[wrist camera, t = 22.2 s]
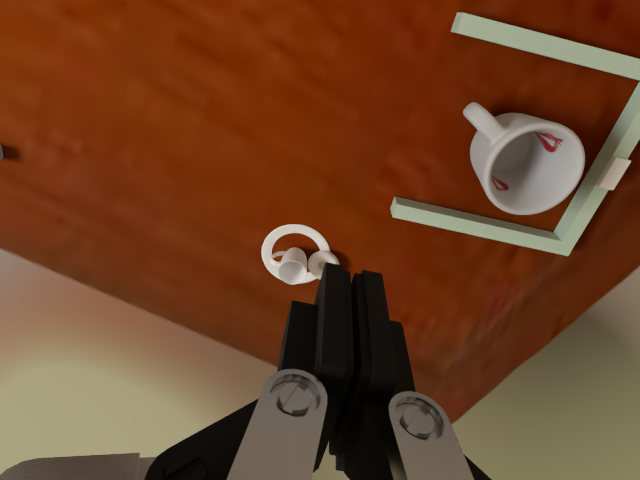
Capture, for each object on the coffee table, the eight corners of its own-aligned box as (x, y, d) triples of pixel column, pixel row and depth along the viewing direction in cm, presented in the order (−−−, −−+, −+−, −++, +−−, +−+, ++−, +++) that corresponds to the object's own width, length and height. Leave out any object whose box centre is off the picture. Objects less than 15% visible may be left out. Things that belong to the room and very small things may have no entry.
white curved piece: (349, 257, 48) (350, 276, 45) (303, 295, 51) (300, 317, 48) (293, 208, 46) (290, 225, 42) (248, 252, 49) (241, 271, 45)
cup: (423, 129, 40) (441, 154, 33) (489, 62, 37) (524, 74, 30) (493, 197, 44) (523, 233, 37) (560, 140, 40) (606, 168, 33)
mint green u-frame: (457, 12, 35) (465, 12, 33) (665, 67, 37) (687, 71, 35) (390, 208, 45) (393, 219, 42) (559, 246, 46) (570, 259, 44)
